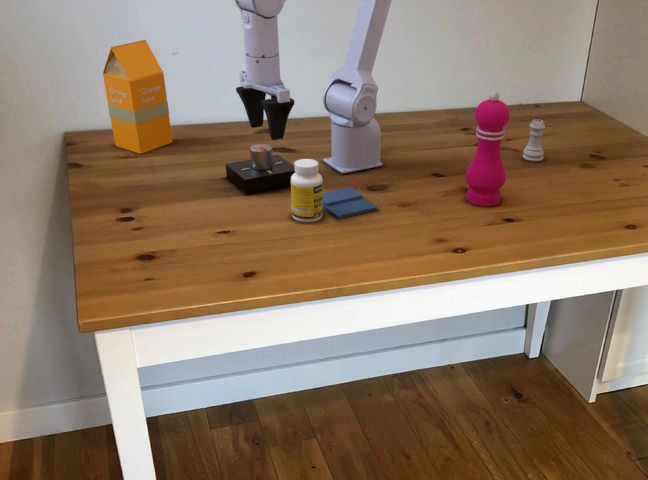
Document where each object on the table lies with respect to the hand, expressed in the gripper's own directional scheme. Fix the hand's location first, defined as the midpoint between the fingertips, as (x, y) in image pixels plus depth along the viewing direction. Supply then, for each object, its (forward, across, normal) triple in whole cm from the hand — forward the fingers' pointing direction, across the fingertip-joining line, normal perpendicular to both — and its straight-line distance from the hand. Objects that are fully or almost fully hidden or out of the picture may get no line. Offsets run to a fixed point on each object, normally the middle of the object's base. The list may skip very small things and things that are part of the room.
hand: (266, 132), depth 138 cm
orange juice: (+11, -34, -11) cm, 37 cm away
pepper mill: (+11, +26, +31) cm, 41 cm away
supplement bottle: (+11, +15, -1) cm, 18 cm away
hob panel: (+10, -3, 0) cm, 11 cm away
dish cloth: (+10, +14, +7) cm, 19 cm away
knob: (+7, -3, 0) cm, 8 cm away
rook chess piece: (+11, +15, +54) cm, 57 cm away
